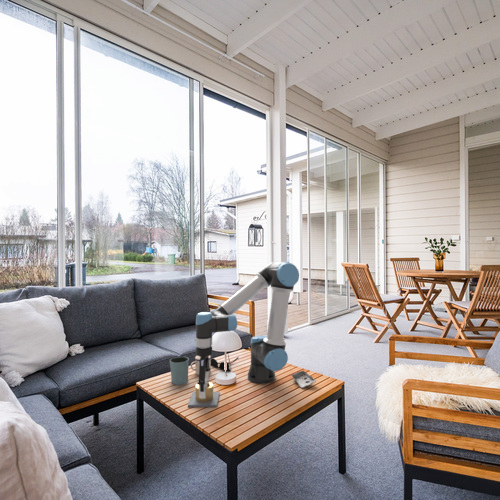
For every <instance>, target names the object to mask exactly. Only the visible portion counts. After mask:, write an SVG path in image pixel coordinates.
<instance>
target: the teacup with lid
mask: <svg viewBox="0 0 500 500" xmlns="http://www.w3.org/2000/svg"><path fill="white" fill-rule="evenodd" d="M211 356H212V355H210V356H209V368H210V371H209V374H211V371H212V370H211V367H212V366H211V359H212V357H211ZM194 359H195V361H192V362H191V363H190V364H189V365H190V369H191V370H192V371H194V372H195V374H196V375H197V376H199V365H200V363H199V360H200V356H197V355H196V356H195V357H194ZM193 364H195V368H193Z"/></svg>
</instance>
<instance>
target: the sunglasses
mask: <svg viewBox="0 0 500 500" xmlns="http://www.w3.org/2000/svg"><path fill="white" fill-rule="evenodd" d="M227 357H228V358H227V359H228V362H226V363H227V371H226V372H231V371H232V369H231V368H232V364H233V363H235V362H236V361H237V360H238V359H239V356H237V357H236V358H235V359H234V360H232V361H230V356H229V354H227ZM224 362H225V361H221V362H218V361H217V360H216V359H215V358H214V357H213V358H212V357H211V367H213V368H215V369H219V370H220V371H224Z"/></svg>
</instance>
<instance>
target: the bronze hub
mask: <svg viewBox="0 0 500 500" xmlns="http://www.w3.org/2000/svg"><path fill="white" fill-rule="evenodd" d="M207 386H208V387H206V388H205V398H199V384H197V383H196V384H195V388H194V389H195V391H194V392H195V397H196V400H197V401H198V402H208V401H211V400H212V399H213V392H214V384H213V383H212V382H210V381H209V382H207Z"/></svg>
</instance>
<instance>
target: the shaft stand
mask: <svg viewBox="0 0 500 500" xmlns="http://www.w3.org/2000/svg"><path fill="white" fill-rule="evenodd" d="M206 387H208V386H207V379H205V388H206ZM219 399H220V391H213V399H212V400H211V401H208V402H198V401H197V400H196V397H195V391H192V393H191V396H190V399H189V401H188V404H187V408H217V407H218V404H219V403H218V402H219Z"/></svg>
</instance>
